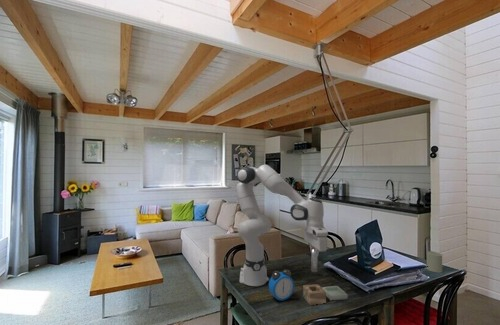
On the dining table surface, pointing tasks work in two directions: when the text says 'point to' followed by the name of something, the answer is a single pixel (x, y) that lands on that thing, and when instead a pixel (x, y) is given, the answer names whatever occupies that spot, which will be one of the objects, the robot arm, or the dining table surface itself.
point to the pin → (313, 260)
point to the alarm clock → (281, 285)
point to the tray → (335, 293)
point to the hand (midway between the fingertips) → (314, 254)
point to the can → (434, 261)
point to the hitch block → (314, 294)
